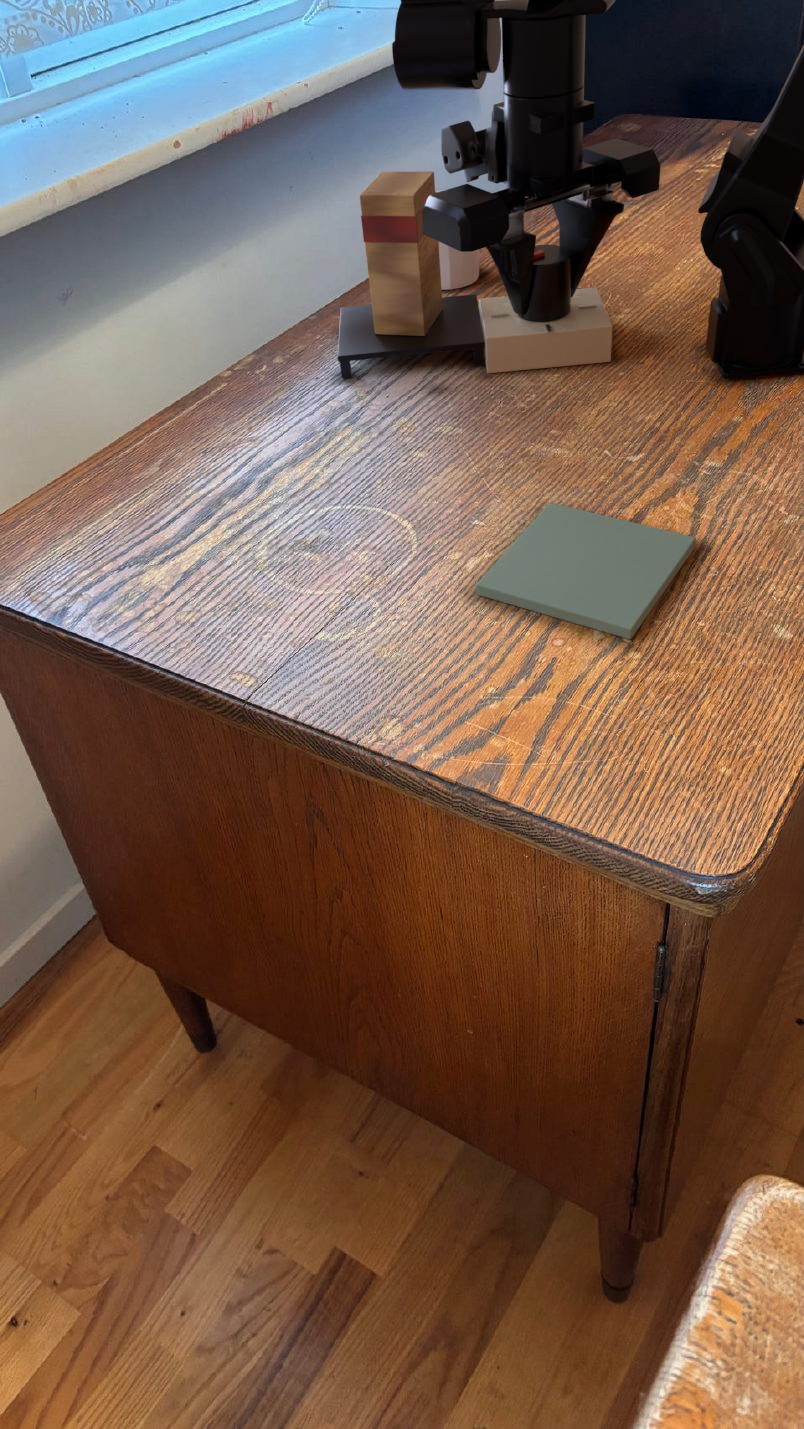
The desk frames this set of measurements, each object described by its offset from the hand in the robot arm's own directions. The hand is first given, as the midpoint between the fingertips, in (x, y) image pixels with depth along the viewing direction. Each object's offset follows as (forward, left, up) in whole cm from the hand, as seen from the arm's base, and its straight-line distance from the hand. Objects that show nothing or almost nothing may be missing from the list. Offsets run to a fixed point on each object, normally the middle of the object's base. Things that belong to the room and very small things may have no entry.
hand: (543, 305), depth 85 cm
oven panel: (0, 0, -4) cm, 4 cm away
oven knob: (0, 0, 0) cm, 0 cm away
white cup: (+7, -17, -4) cm, 19 cm away
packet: (+11, -3, -2) cm, 11 cm away
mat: (+1, +32, -4) cm, 32 cm away
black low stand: (+11, -2, -4) cm, 12 cm away
